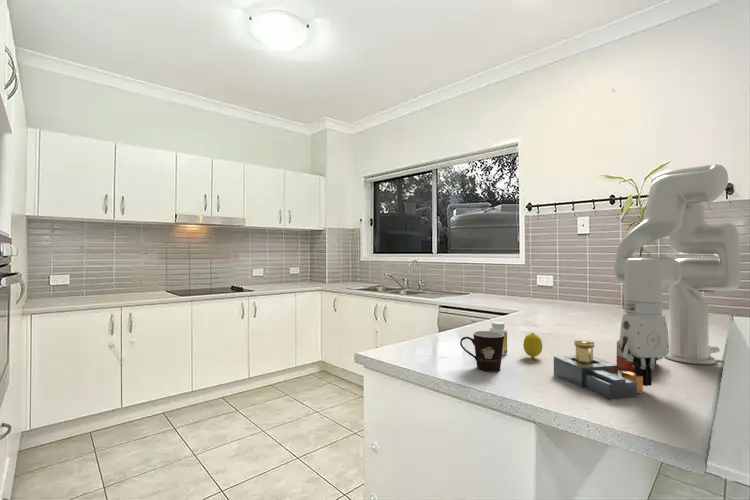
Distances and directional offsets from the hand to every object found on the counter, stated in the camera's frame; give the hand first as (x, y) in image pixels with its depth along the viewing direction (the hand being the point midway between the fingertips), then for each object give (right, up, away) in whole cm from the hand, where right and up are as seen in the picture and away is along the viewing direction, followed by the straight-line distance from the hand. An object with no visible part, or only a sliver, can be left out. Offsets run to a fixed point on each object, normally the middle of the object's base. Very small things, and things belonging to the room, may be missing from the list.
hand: (643, 383), depth 93 cm
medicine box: (+12, -2, +20) cm, 23 cm away
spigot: (-10, -2, +8) cm, 13 cm away
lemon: (-15, -2, +28) cm, 32 cm away
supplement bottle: (-24, -2, +33) cm, 41 cm away
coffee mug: (-34, -2, +18) cm, 38 cm away
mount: (-9, -2, +5) cm, 11 cm away
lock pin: (-6, -1, -1) cm, 6 cm away
